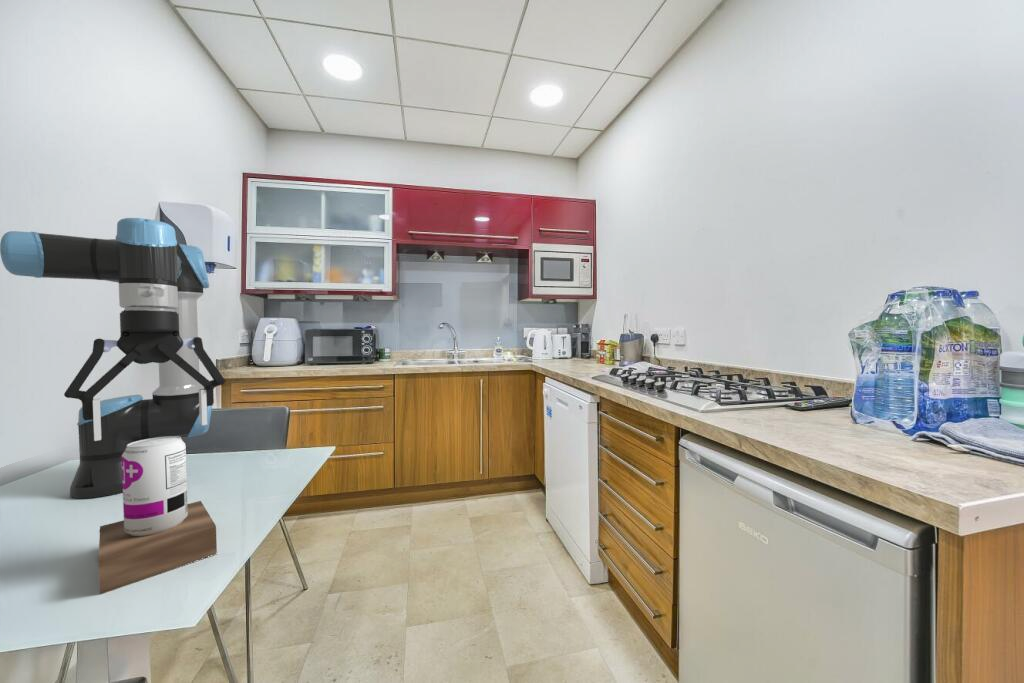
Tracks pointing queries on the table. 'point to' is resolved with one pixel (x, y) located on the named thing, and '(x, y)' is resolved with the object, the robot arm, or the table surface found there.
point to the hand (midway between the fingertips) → (154, 431)
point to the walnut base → (153, 549)
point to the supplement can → (154, 485)
